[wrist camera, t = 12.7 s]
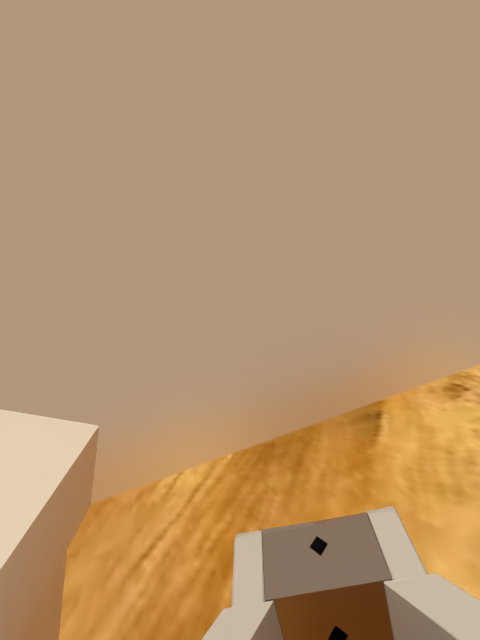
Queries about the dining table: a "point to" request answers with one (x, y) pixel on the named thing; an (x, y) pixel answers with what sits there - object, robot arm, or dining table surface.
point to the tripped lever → (40, 516)
